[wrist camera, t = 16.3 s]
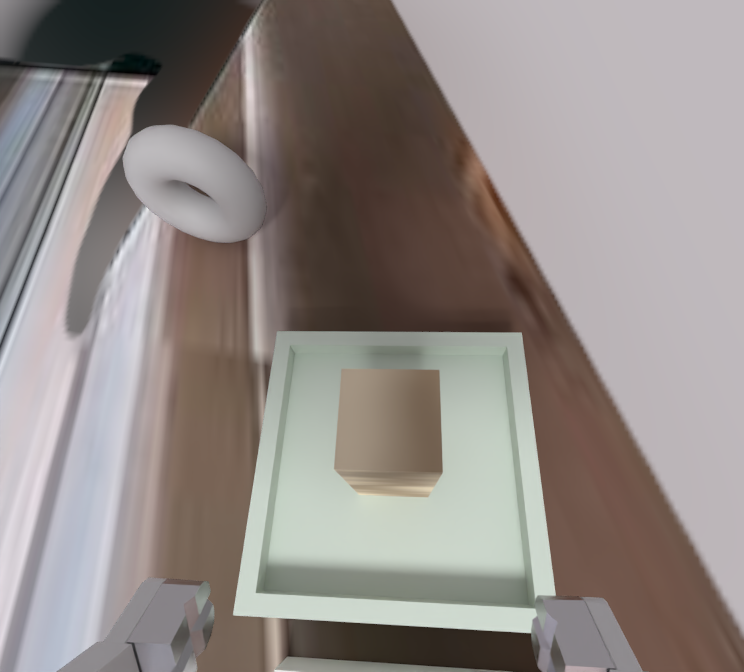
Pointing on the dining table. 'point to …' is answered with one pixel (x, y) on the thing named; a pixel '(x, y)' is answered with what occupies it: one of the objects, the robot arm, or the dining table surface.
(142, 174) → the donut
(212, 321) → the dining table surface
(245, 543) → the tray
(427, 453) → the maple block
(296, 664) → the pocket plate
